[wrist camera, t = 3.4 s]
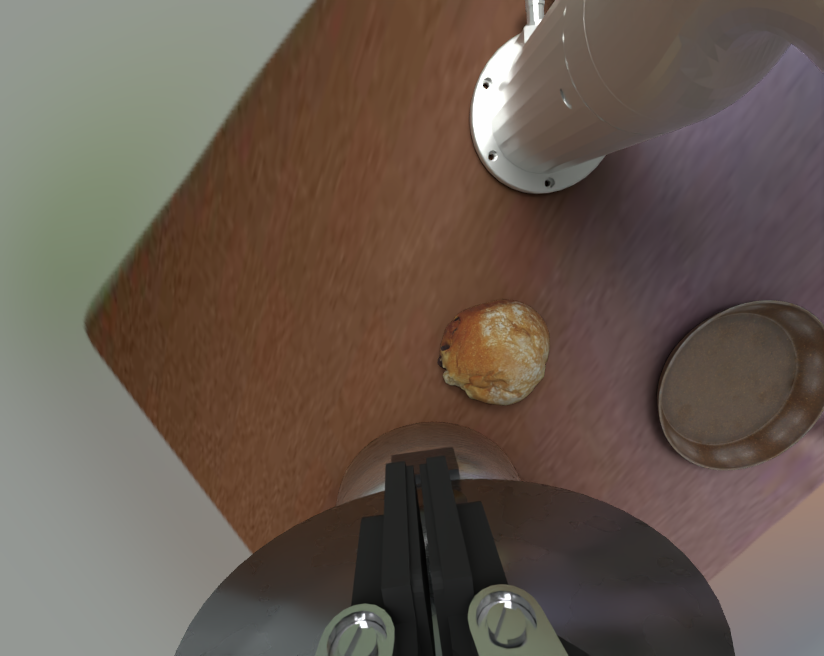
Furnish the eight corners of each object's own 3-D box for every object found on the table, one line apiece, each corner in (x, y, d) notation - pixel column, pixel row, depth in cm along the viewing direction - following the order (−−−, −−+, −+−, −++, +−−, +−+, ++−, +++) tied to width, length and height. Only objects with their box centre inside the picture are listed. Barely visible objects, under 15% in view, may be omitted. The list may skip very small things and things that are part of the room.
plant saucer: (842, 355, 41) (877, 365, 38) (723, 482, 44) (746, 500, 41) (724, 259, 38) (752, 262, 35) (605, 402, 41) (621, 416, 38)
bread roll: (509, 380, 44) (567, 407, 37) (429, 399, 39) (478, 435, 32) (513, 291, 41) (576, 302, 34) (428, 300, 37) (482, 316, 30)
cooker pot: (288, 422, 40) (244, 502, 28) (543, 387, 40) (604, 452, 28) (327, 595, 45) (304, 723, 34) (552, 564, 45) (606, 679, 34)
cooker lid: (282, 519, 28) (274, 460, 28) (573, 478, 28) (565, 420, 28) (-89, 1066, 7) (-117, 832, 7) (1043, 893, 7) (1008, 667, 7)
